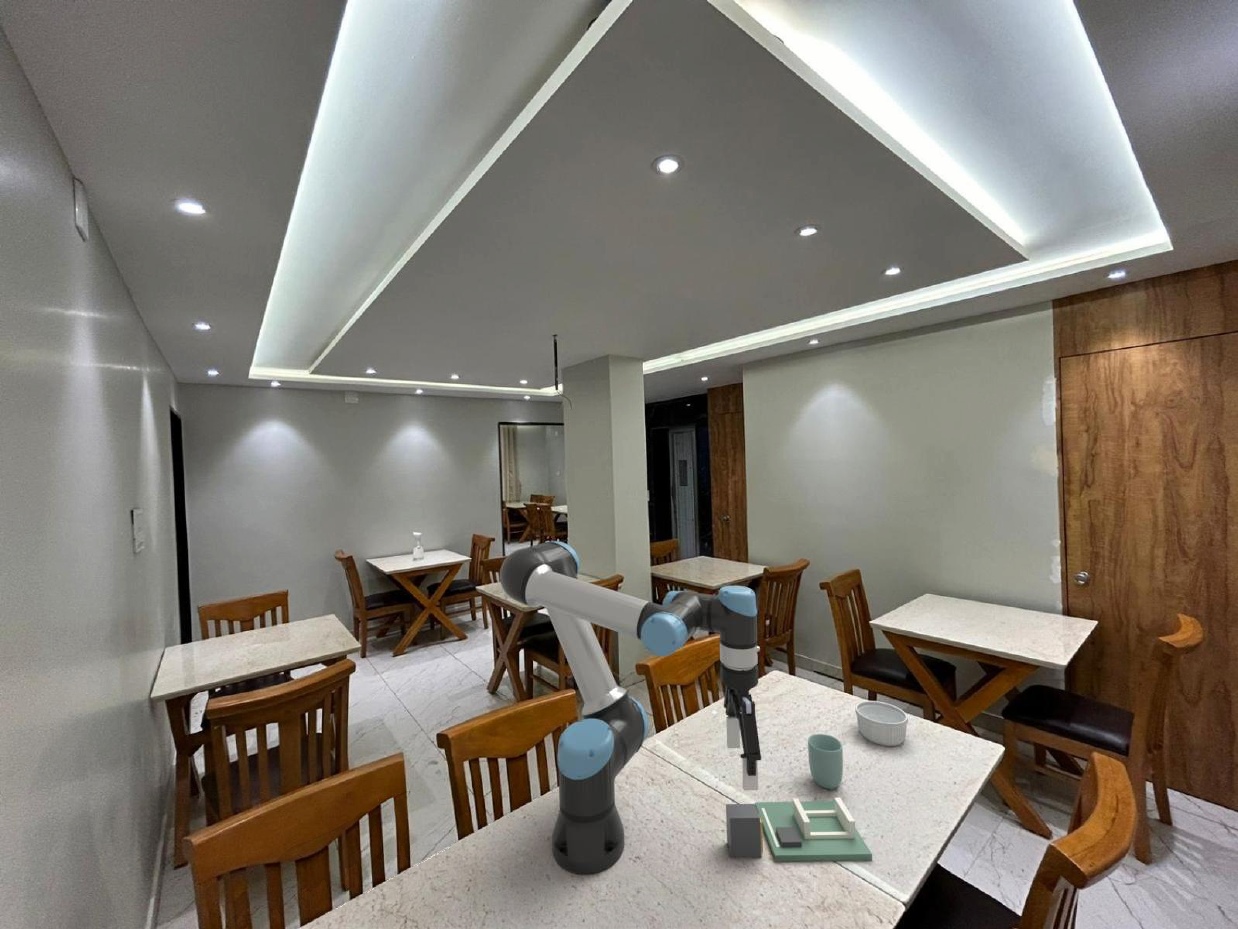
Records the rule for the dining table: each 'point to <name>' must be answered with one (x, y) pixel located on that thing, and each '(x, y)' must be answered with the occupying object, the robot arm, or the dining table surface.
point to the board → (811, 831)
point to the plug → (744, 831)
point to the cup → (825, 760)
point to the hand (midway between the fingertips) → (741, 766)
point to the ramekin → (881, 722)
